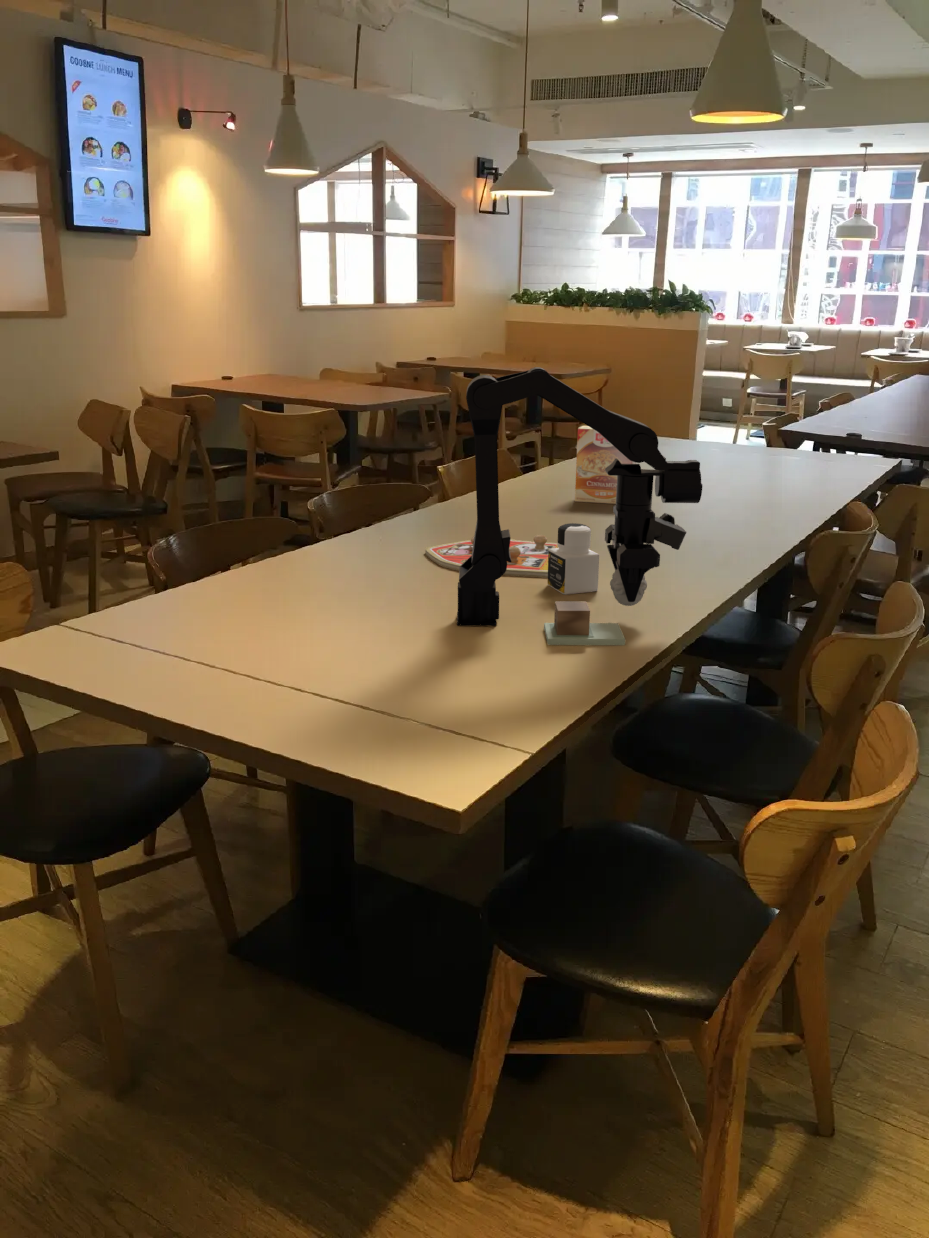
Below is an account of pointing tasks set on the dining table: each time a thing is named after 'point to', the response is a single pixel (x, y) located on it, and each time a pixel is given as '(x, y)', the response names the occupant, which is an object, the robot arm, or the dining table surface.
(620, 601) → the grey lumpy rounded piece
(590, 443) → the coffeecake box
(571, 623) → the walnut block
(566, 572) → the medicine bottle
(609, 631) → the base board
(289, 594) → the dining table surface
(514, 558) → the knob puzzle
